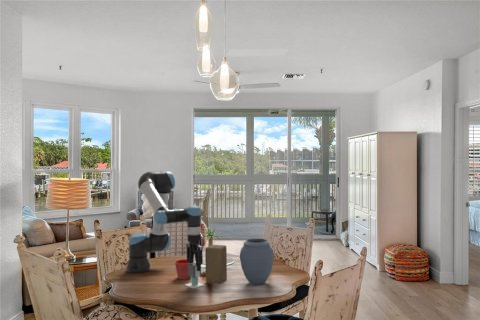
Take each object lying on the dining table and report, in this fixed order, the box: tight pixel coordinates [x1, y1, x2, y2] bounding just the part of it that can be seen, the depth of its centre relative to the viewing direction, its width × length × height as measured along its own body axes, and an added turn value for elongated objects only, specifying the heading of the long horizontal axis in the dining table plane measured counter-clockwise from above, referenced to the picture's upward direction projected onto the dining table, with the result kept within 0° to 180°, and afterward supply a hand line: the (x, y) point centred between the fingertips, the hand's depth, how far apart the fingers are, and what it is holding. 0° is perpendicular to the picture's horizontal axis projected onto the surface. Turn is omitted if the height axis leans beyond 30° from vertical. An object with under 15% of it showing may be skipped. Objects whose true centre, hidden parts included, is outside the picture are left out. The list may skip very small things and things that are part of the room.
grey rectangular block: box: [188, 262, 202, 279], centre depth 234 cm, size 5×5×7 cm
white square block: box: [184, 277, 206, 289], centre depth 234 cm, size 8×8×7 cm
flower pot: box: [174, 258, 194, 280], centre depth 252 cm, size 11×11×10 cm
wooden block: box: [204, 244, 228, 284], centre depth 244 cm, size 10×10×20 cm
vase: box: [239, 238, 275, 286], centre depth 237 cm, size 20×20×24 cm
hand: (194, 275), depth 234 cm, fingers closed on grey rectangular block, 5 cm apart
